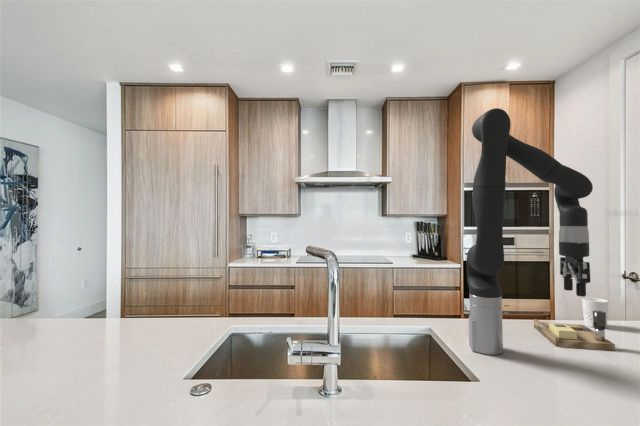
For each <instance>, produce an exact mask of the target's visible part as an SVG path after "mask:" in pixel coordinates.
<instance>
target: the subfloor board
mask: <svg viewBox="0 0 640 426" xmlns="http://www.w3.org/2000/svg"><path fill="white" fill-rule="evenodd" d="M549 323H550V322H543V321H542V322H541V321H540V320H538V318H537V319H536V318H534V319H533V328H534V329H535V330H536V331H538V332H539V333H540V334H541V336H543V337H545V338H546V339H547V341H549V342H551V344H552V345H553V346H555V347H558V348H559V347H560V348H572V349H573V348H574V349H585V350H586V349H587V350H599V351H610V352H611V351H612V352H613V351H614V352H616V343H613V342H612V341H611V340H609V339H607V338H605V341H604V342H601V341H597V340H595V330H592V329H591V328H589V327H588V326H586V325H585V324H578V323H577V324H575V323H565V324H566V325H568V326H569V327H571V328H572V329H573V330H575V331H576V332H577V339H563V338H559V337H558V336H557V335H556V334H554V333H553V332H552V331H551V330H549ZM553 323H554V324H562V323H559V322H557V323H556V322H553Z"/></svg>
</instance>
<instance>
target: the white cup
mask: <svg viewBox="0 0 640 426" xmlns="http://www.w3.org/2000/svg"><path fill="white" fill-rule="evenodd" d="M581 306H582V314H583V315H582V316H583V320H584V321H583V322H584V324H583V325H584V326H586V327H588V328H589V327H590V328H594V327H593V311H602V312H606V329H607V328H608V318H609V300H607V299H605V298H604V299H603V298H601V297H600V298H599V297H589V296H585V297H581ZM594 329H595V328H594Z"/></svg>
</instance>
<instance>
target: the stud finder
mask: <svg viewBox="0 0 640 426" xmlns="http://www.w3.org/2000/svg"><path fill="white" fill-rule="evenodd" d="M548 323H549V330H551V331H552V332H553V333H554V334H556V335H557V336H558V337H559V338H563V339H577V332H576V331H575V330H573V329H572V328H571V327H569V326H568V325H566V324H567V323H561V324H554V323H555V322H548Z"/></svg>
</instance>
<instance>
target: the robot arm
mask: <svg viewBox="0 0 640 426" xmlns="http://www.w3.org/2000/svg"><path fill="white" fill-rule="evenodd" d="M511 124H512V123H511V118H510V116H509V114H508V113H507V112H506V111H505V110H504V109H502V108H500V107H499V108H498V107H496V108H492V109H489V110H487V111H486V112H484V113H483V114H481V115H480V116H479V117H478V118H476V120H475V121H474V122H473V124H472V127H471V133H472V136H473V138H475V140H477V141H478V142H480V143H481V151H480V152H481V153H480V158H479V161H478V164H477V168H476V170H475V173H474V178H473V183H472V197H471V201H472V209H473V213H474V214H473V215H474V219H475V223H476V237H475V239H476V240H475V244H474V245H472V246H471V247H469V249H468V251H467V253H466V277H467V278H466V280H467V285H468V291H469V293H468V294H469V295H468V296H469V315H468V345H469V347H470V349H471V351H472V352H474V353H475V352H476V353H479V354H484V355H491V356H493V355H494V356H495V355H501V354H503V353H504V341H503V339H504V338H503V337H504V335H503V333H504V332H503V300H502V299H503V297H502V296H503V293H502V287H501V285H500V282H499V278H498V273H499V272H500V271H501V270H502V269H503V267H504V264H505V251H504V249H505V248H504V238H503V237H504V235H503V233H504V232H503V230H504V229H503V228H504V227H503V225H504V216H505V201H506V173H507V157H508V158H509V159H511V160H512V161H514V162H516V163H517V164H519V165H520V166H522V167H523V168H524V169H526V170H527V171H528V172H530V173H531V174H533V175H534V176H535V177H537V178H538V179H539V180H540V181H542V182H544V183H547V184H553V185H555V186H554V189H553V190H554V191H553V194H554V199H555V202H556V207H557V209H558V212H559V230H558V255H559V256H560V258H559V262H560V263H559V274H560V276H562V278H563V290H564V291H569V292H570V291H573V289H574V286H573V285H574V283H573V280H574V279H575V283H576V284H575V293H576V296H577V297H582V298H584V297H587V285H588V284H589V283H591V269H590V268H591V267H590V266H591V264H590V262H589V261H584V258H587V257H589V256H590V232H589V227H588V225H589V223H588V221H589V219H588V210H587V208H585V207H583V206H581V205H580V201H579V199H580V200H581V199H584V198H586V197H588V196H590V195H591V193H592V192H593V189H594V188H593V187H594V186H593V182H592V181H591V180H590V178H588V177H587V176H586V175H584V173H581V172H579V171H577V170H576V169H574V168H571V167H569V166H567V165H564V164H563V163H561V162H560V161H559V160H557V159H556V158H554V157H553V156H551V155H550V154H549V153H547V152H546V151H544V150H542V149H540V148H538V147H536V146H533V145H531V144H528V143H525V142H523V141H522V140H519V139H518V138H515V137H514V136H513V135H511V134H510V133H511V132H510V131H511ZM573 278H574V279H573Z"/></svg>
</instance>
